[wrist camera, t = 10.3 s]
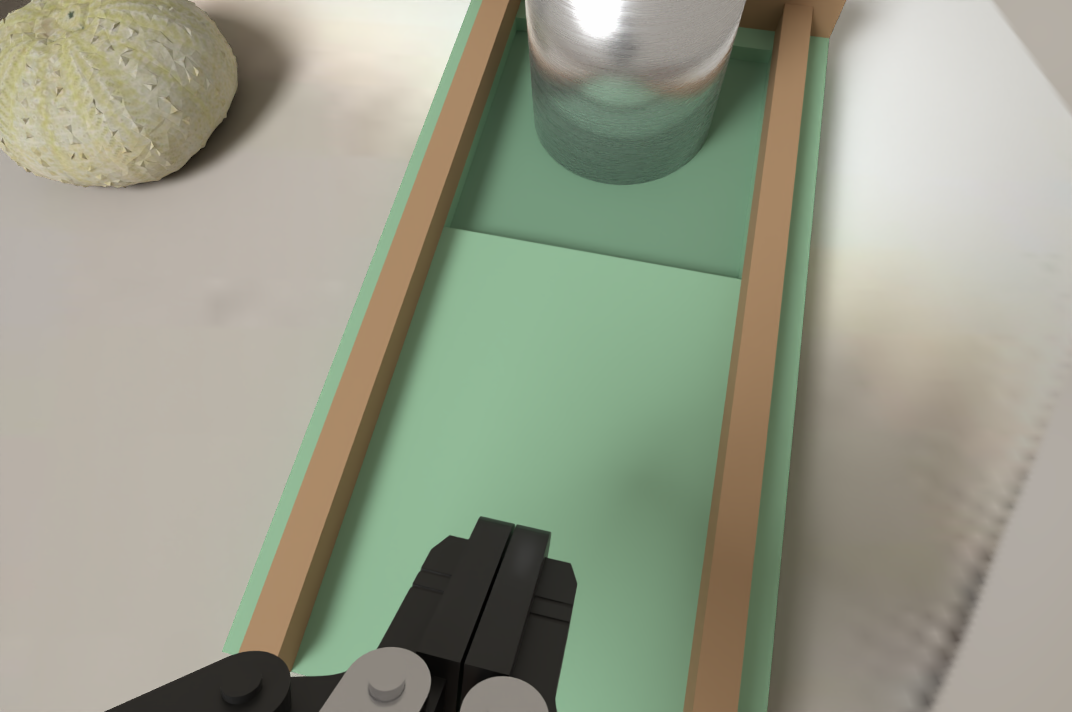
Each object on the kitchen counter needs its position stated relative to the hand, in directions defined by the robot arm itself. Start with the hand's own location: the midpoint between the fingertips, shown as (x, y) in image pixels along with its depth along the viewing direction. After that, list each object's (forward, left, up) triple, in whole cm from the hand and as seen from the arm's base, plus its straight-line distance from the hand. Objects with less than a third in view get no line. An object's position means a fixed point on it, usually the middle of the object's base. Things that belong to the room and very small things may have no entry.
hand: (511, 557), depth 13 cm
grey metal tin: (0, +17, -5) cm, 18 cm away
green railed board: (0, +9, -6) cm, 11 cm away
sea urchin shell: (-20, +14, -7) cm, 26 cm away
